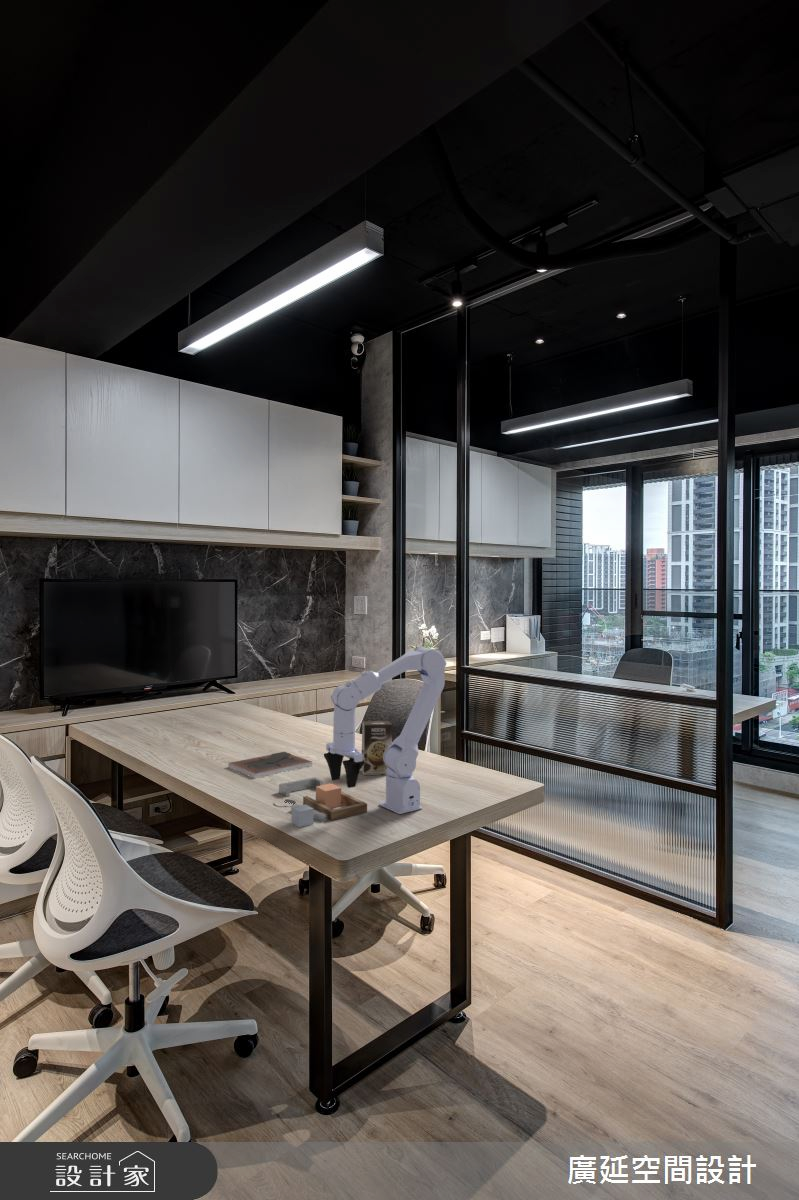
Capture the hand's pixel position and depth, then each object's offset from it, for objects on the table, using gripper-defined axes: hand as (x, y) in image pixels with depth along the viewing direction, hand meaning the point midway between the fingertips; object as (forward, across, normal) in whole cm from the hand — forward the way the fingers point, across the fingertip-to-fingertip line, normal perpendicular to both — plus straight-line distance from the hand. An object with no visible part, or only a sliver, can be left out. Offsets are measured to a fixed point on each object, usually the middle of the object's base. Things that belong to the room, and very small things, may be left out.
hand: (343, 783), depth 172 cm
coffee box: (+8, -26, +29) cm, 40 cm away
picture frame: (+9, -50, +4) cm, 51 cm away
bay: (+8, -4, 0) cm, 9 cm away
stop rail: (+8, -23, 0) cm, 24 cm away
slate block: (+8, 0, -12) cm, 15 cm away
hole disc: (+8, -16, -9) cm, 20 cm away
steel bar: (+8, -3, -8) cm, 12 cm away
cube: (+8, -8, 0) cm, 11 cm away
